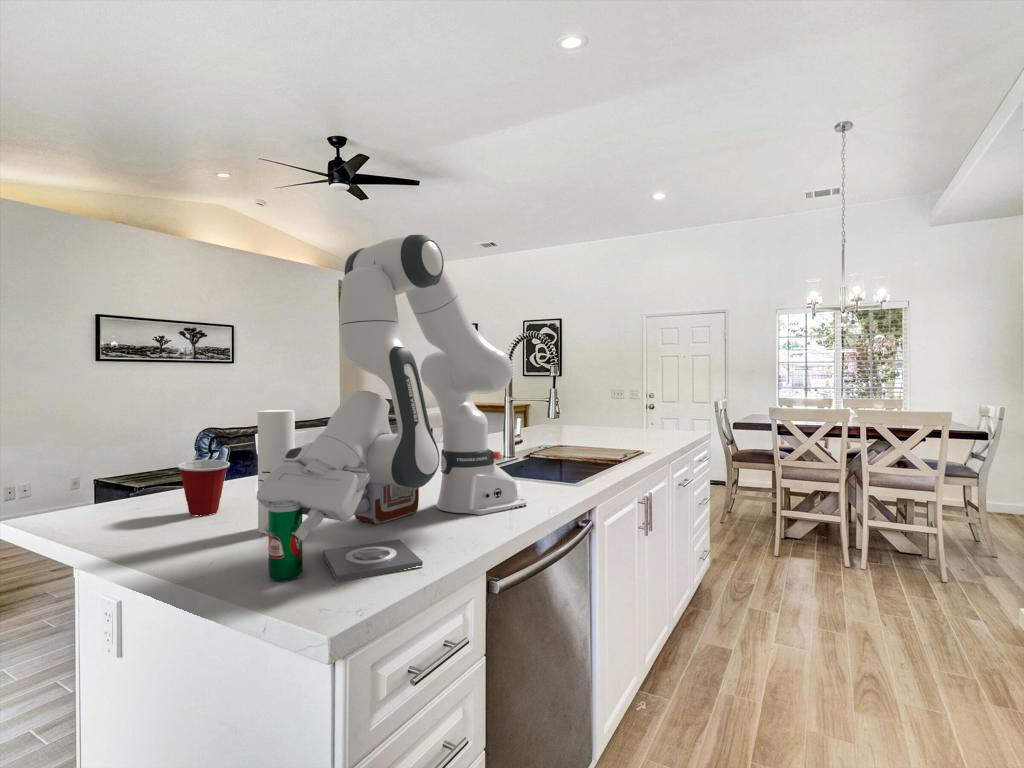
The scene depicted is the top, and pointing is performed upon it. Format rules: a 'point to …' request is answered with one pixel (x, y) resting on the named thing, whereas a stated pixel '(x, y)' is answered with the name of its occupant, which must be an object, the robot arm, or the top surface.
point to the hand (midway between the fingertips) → (282, 534)
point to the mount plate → (370, 559)
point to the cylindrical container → (272, 448)
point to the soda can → (284, 540)
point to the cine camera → (386, 501)
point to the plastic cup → (203, 484)
